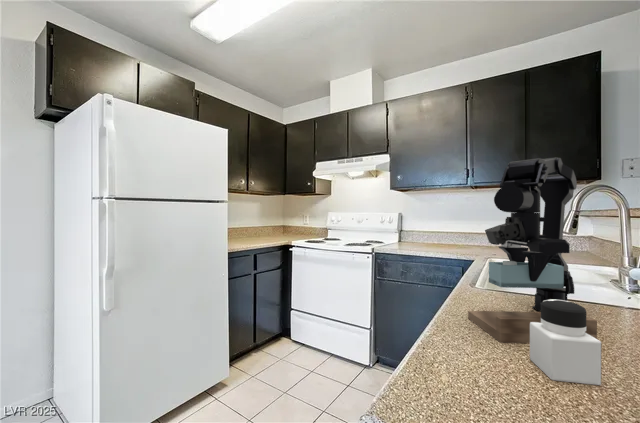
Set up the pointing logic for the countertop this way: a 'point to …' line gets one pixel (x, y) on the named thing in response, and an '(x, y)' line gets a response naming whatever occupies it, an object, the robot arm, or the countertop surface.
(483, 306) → the countertop surface
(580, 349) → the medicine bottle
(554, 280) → the tray
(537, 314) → the walnut shelf
